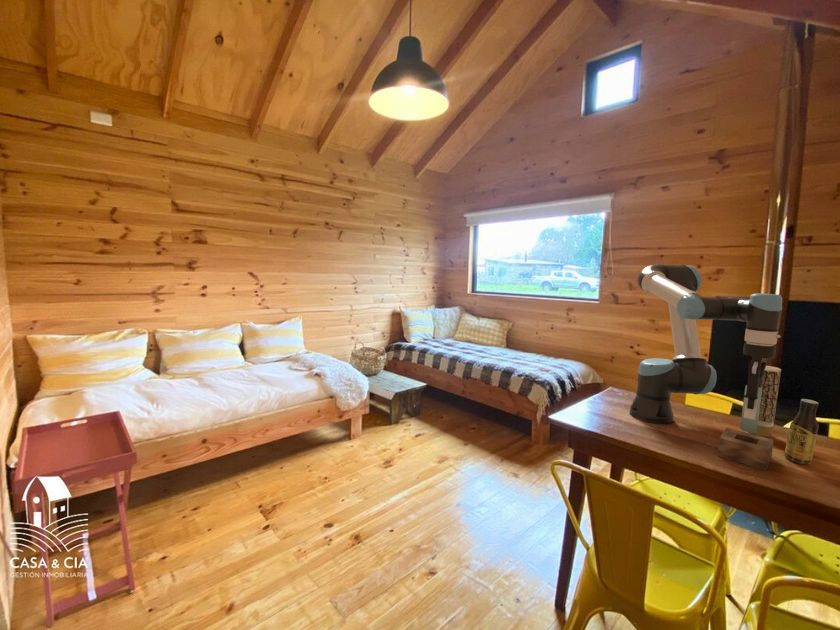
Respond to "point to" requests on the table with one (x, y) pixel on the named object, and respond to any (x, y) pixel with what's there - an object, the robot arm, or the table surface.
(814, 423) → the sauce bottle
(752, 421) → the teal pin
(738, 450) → the bore block
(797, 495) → the table surface
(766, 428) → the bark-textured cylinder
